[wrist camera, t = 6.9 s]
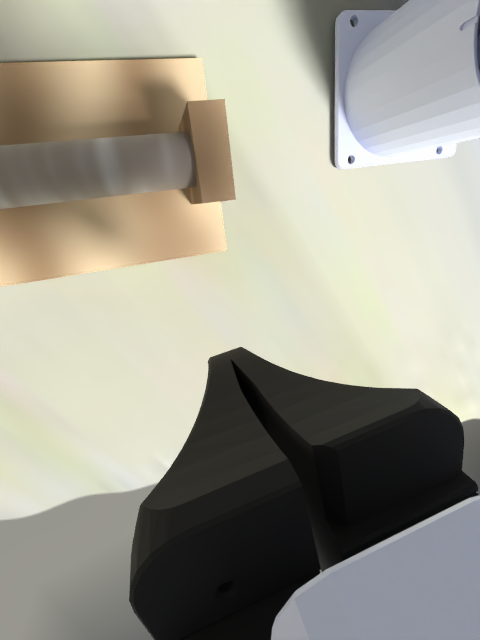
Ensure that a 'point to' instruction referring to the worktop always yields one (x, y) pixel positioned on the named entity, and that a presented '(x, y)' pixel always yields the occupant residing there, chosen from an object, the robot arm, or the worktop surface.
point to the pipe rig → (109, 166)
